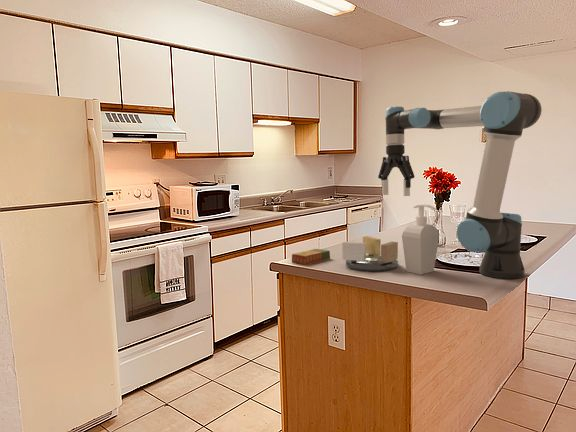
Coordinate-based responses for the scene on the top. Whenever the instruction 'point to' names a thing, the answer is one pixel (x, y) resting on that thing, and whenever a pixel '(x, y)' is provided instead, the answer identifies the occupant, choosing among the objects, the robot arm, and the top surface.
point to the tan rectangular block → (389, 252)
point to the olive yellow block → (372, 245)
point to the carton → (310, 256)
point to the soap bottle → (420, 244)
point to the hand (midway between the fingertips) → (395, 195)
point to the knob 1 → (354, 251)
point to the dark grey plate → (372, 264)
